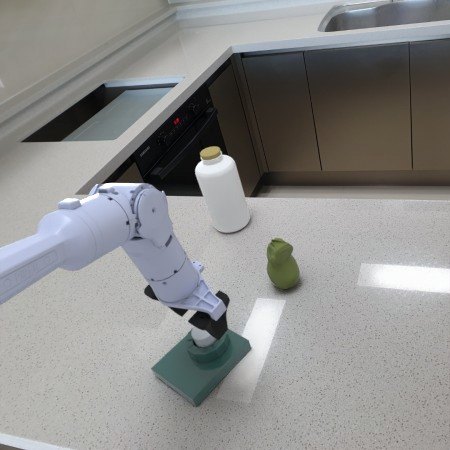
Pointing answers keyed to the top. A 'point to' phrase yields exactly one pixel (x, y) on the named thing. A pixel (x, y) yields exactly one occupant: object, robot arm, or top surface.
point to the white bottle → (222, 190)
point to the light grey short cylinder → (202, 338)
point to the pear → (282, 264)
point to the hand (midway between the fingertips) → (203, 321)
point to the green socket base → (200, 365)
